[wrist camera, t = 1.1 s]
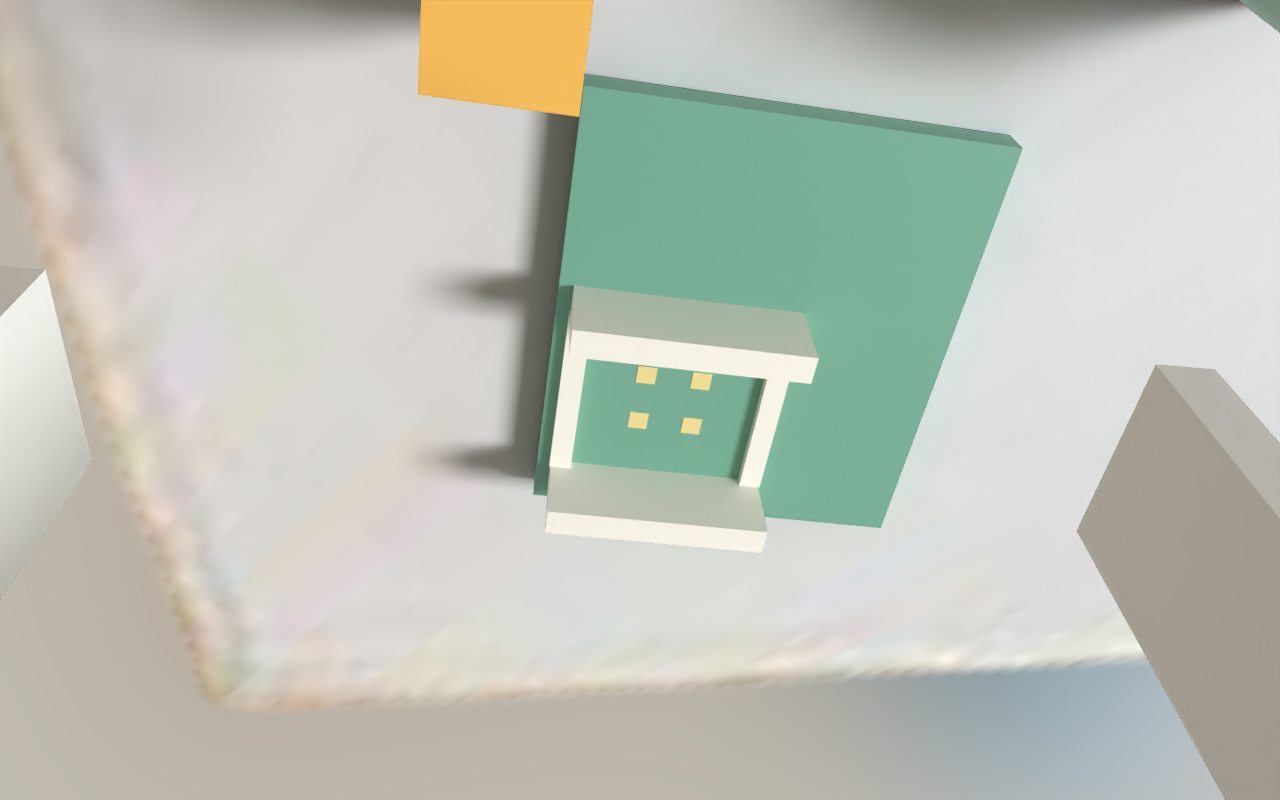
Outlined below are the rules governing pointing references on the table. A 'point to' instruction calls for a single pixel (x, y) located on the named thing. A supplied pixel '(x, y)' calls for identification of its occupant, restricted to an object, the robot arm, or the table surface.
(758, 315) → the board
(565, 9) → the plug
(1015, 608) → the table surface
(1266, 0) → the coffee cup
